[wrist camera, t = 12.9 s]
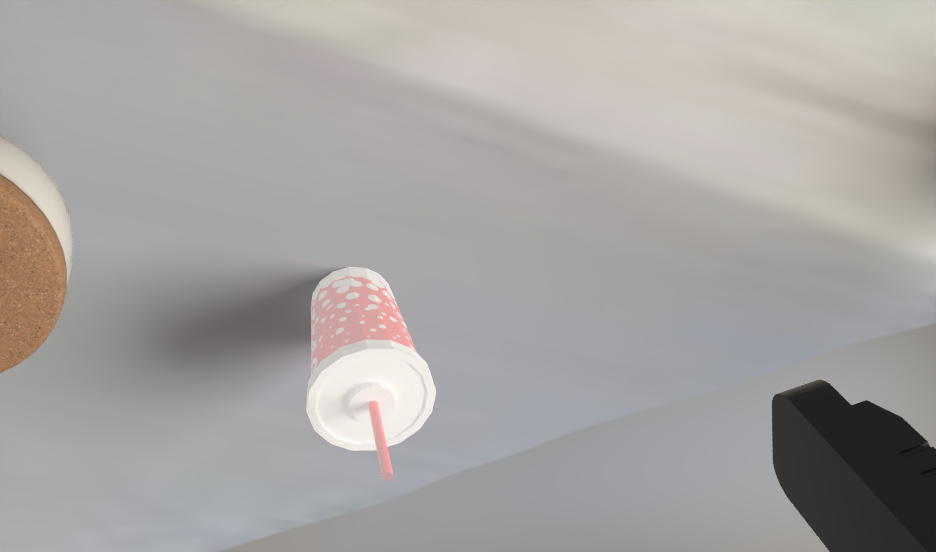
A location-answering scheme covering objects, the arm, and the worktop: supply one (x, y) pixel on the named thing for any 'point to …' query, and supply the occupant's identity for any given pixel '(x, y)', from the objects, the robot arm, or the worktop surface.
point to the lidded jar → (30, 254)
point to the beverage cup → (364, 367)
